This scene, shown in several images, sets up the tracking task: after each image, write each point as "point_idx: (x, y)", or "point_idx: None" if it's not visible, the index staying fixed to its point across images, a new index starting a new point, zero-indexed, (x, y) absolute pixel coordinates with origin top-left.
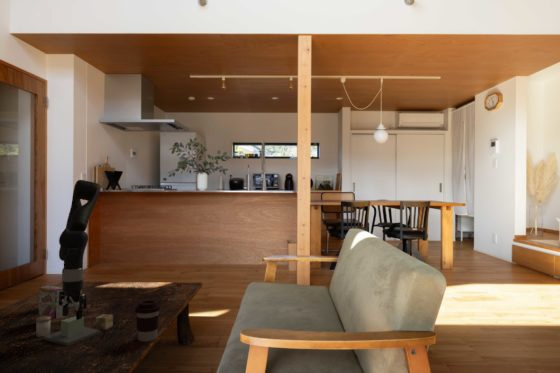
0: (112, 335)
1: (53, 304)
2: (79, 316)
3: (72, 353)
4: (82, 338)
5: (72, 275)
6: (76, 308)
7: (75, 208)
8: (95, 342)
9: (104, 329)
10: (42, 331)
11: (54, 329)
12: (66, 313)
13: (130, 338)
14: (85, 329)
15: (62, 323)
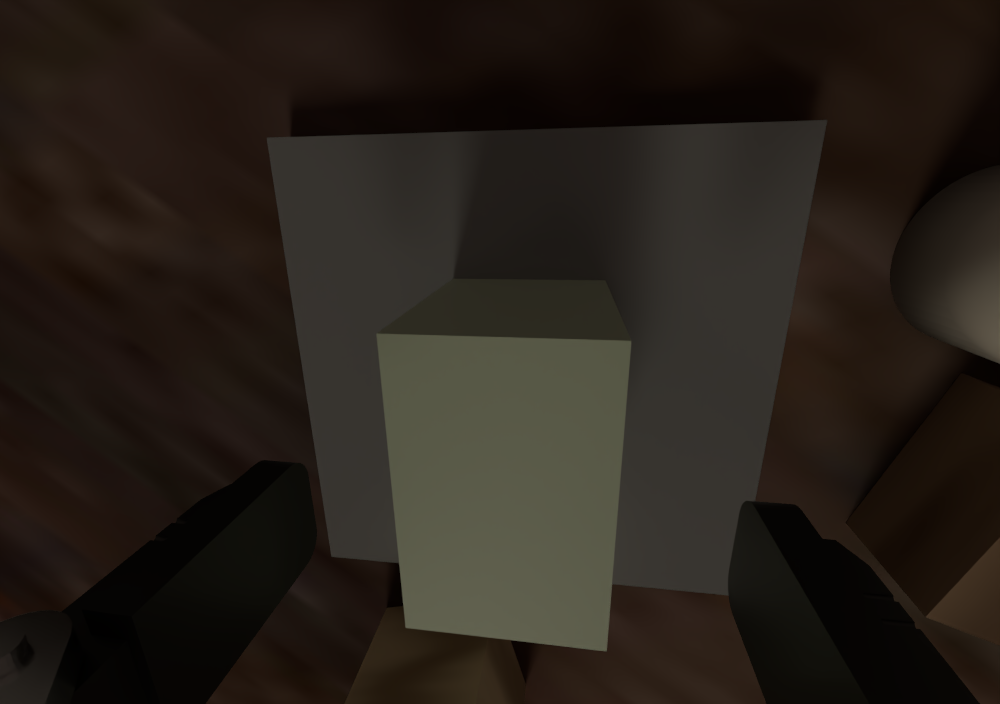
0: None
1: None
2: (185, 517)
3: (41, 27)
4: (305, 343)
5: None
6: (11, 697)
7: None
8: (158, 352)
9: (398, 608)
10: (996, 200)
11: (947, 417)
12: (752, 596)
13: (27, 528)
14: None
15: (581, 323)
